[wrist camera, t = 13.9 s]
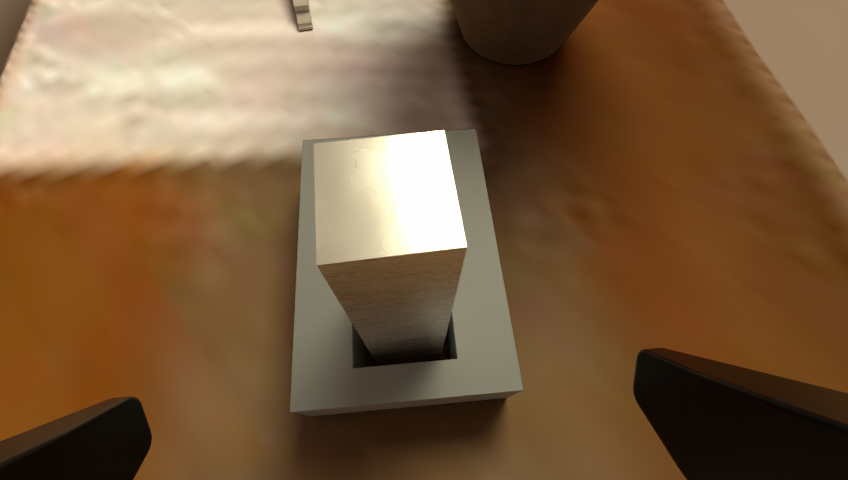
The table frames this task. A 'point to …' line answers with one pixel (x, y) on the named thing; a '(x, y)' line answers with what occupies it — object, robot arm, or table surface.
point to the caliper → (303, 14)
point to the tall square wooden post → (390, 240)
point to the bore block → (467, 331)
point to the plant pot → (518, 27)
